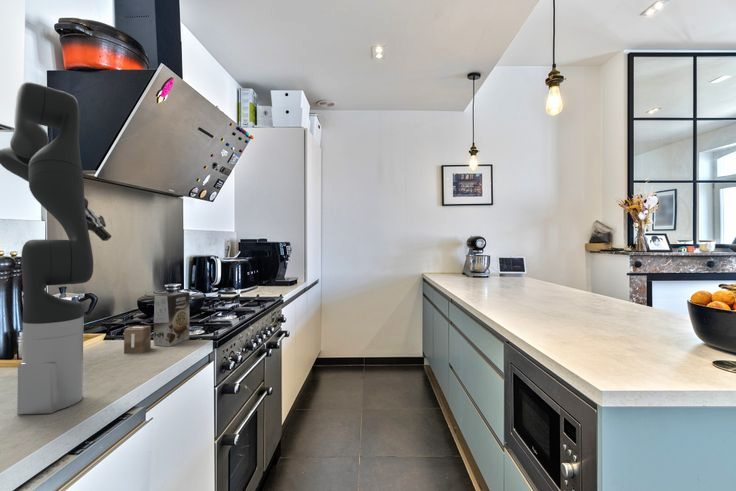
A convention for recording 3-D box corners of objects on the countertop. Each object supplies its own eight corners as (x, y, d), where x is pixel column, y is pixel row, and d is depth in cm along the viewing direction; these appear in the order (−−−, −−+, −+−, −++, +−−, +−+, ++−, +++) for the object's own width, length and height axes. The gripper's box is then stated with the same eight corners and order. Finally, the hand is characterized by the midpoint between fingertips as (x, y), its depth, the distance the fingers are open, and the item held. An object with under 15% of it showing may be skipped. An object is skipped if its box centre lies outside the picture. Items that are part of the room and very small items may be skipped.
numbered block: (141, 353, 104) (141, 329, 104) (123, 353, 104) (123, 329, 104) (150, 348, 109) (150, 325, 109) (133, 348, 109) (133, 325, 109)
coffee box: (170, 346, 111) (170, 295, 111) (152, 345, 112) (153, 295, 112) (190, 339, 120) (190, 292, 120) (173, 338, 121) (174, 291, 121)
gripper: (56, 184, 98) (102, 229, 99) (89, 191, 111) (130, 231, 113) (36, 203, 98) (82, 247, 99) (71, 208, 111) (112, 247, 112)
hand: (107, 238), depth 106 cm, fingers closed
